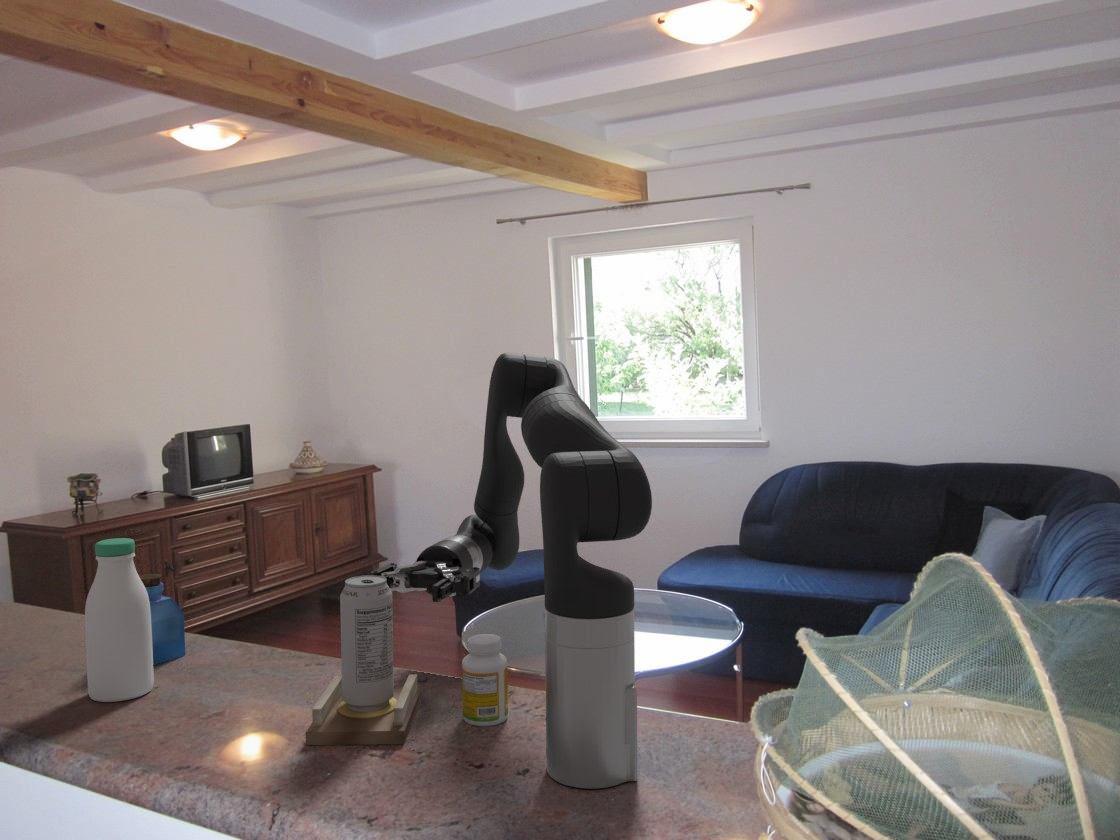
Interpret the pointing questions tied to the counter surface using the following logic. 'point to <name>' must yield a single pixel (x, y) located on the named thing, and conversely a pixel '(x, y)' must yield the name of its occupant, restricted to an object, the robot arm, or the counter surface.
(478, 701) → the supplement bottle
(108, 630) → the milk bottle
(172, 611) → the perfume bottle
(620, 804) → the counter surface
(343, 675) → the energy drink can
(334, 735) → the stand
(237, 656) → the counter surface
